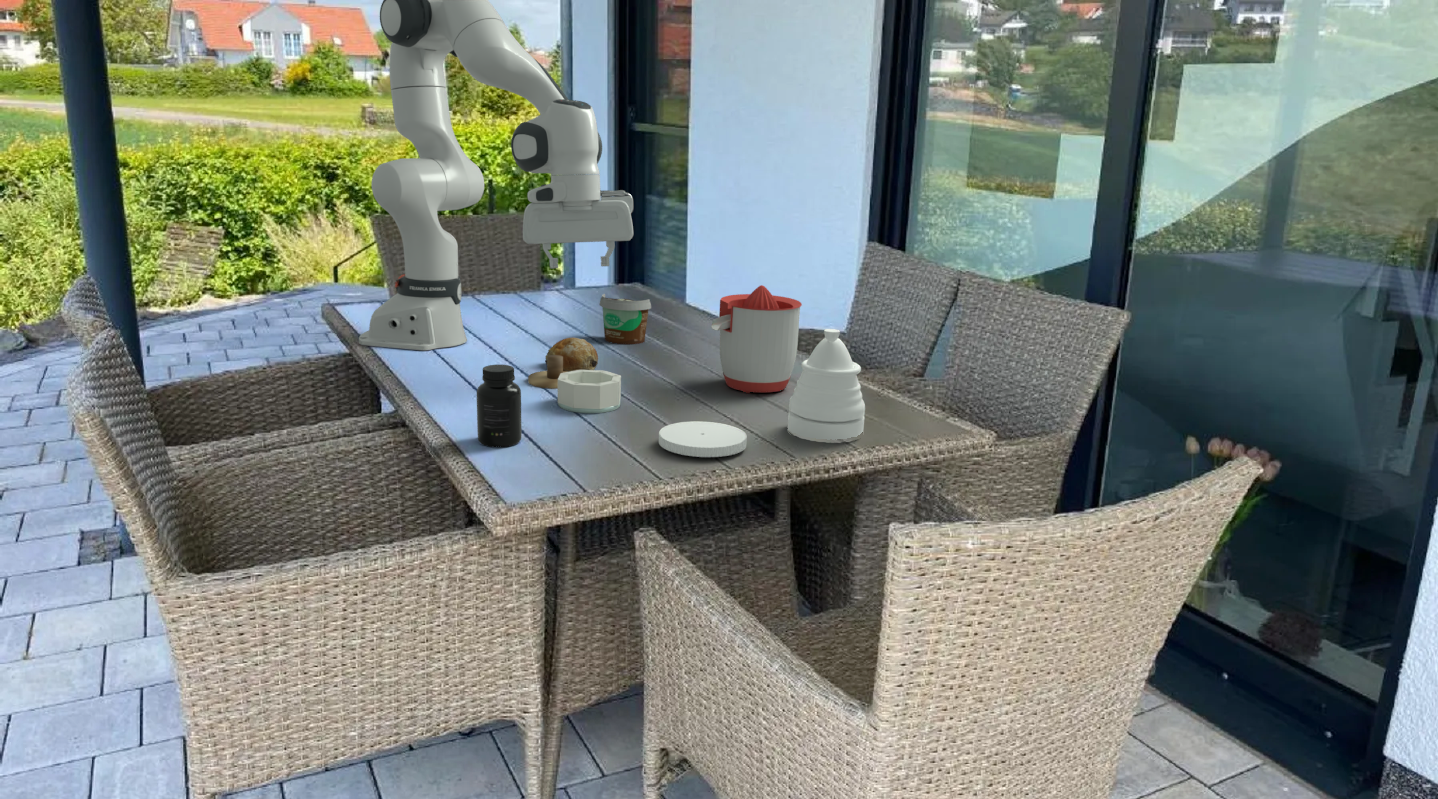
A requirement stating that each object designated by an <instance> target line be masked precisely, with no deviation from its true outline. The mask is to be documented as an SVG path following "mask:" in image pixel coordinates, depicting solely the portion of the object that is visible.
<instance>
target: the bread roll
mask: <svg viewBox="0 0 1438 799" xmlns="http://www.w3.org/2000/svg"><path fill="white" fill-rule="evenodd" d="M549 355H560V356H563V371H567V372H570V371H576V370H596V367H597V366H598V364H599V363H598V362H599V356H598V352H597V350H596V348H595V347H594V346H593V345H592V344H591V343H590V342H588V341H587V340H586V339H584V338H578V337H567V338H566V337H565V338H564V339H563V338H562V339H561V340H559V341H557V342H556V343H554V344H553V345H552V347H550V348H549V349H548V350H547V353H546V355H545V360H544V363H545V364H546V365H547V356H549Z"/></svg>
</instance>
